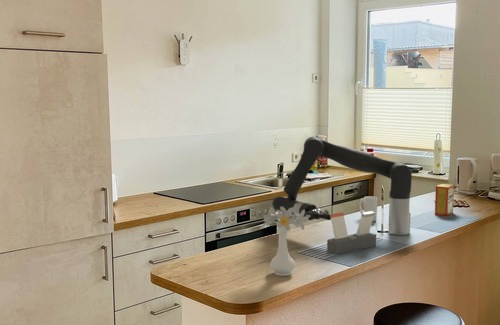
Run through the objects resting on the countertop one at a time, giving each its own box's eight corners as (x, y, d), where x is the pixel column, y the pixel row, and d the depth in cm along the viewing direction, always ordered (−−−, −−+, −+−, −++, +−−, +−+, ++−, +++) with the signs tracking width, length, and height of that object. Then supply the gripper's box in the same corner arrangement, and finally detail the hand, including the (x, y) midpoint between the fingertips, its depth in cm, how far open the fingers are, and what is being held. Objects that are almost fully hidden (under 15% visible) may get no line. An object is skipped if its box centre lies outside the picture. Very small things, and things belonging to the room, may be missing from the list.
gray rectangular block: (366, 242, 253) (366, 230, 253) (376, 245, 248) (376, 233, 248) (327, 251, 241) (327, 238, 240) (336, 254, 236) (337, 241, 235)
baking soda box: (446, 216, 304) (447, 186, 302) (434, 214, 308) (435, 185, 306) (452, 213, 311) (454, 184, 309) (441, 211, 315) (442, 183, 313)
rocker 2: (366, 232, 249) (372, 210, 245) (368, 234, 248) (374, 212, 244) (356, 234, 246) (362, 212, 242) (358, 236, 245) (364, 214, 241)
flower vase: (312, 271, 214) (313, 206, 211) (279, 283, 202) (279, 214, 198) (286, 263, 224) (286, 201, 220) (253, 274, 211) (253, 208, 208)
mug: (379, 219, 296) (379, 197, 295) (373, 222, 291) (373, 199, 289) (361, 217, 302) (362, 195, 301) (355, 219, 297) (356, 197, 296)
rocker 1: (345, 237, 243) (340, 212, 244) (348, 236, 241) (343, 212, 243) (335, 239, 240) (330, 214, 241) (337, 239, 238) (332, 214, 240)
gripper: (293, 204, 256) (318, 211, 241) (316, 200, 263) (341, 207, 249) (293, 220, 257) (318, 228, 242) (316, 216, 264) (341, 223, 250)
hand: (330, 217), depth 245 cm, fingers closed
